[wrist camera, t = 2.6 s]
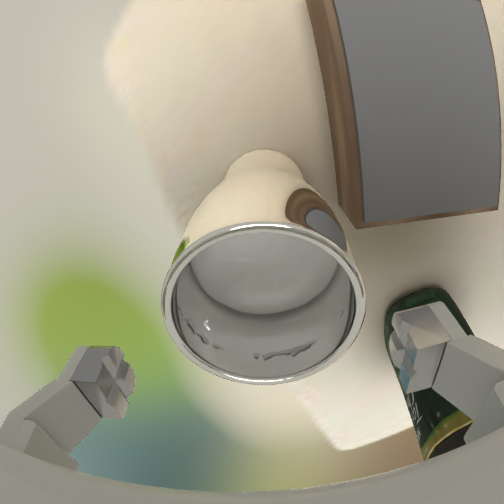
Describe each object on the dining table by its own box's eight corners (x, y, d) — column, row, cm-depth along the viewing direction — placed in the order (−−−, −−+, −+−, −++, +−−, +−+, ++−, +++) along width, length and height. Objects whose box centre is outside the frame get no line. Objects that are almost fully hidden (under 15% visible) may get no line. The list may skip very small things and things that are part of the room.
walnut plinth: (446, 9, 15) (482, -3, 10) (464, 189, 22) (500, 211, 17) (305, 0, 16) (317, -27, 11) (338, 203, 23) (357, 231, 18)
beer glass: (213, 145, 21) (131, 221, 8) (310, 142, 21) (388, 212, 8) (221, 233, 25) (178, 387, 11) (310, 230, 24) (354, 383, 11)
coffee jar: (376, 301, 27) (447, 484, 11) (447, 274, 26) (549, 424, 9) (384, 364, 31) (427, 511, 15) (445, 341, 30) (507, 473, 13)
